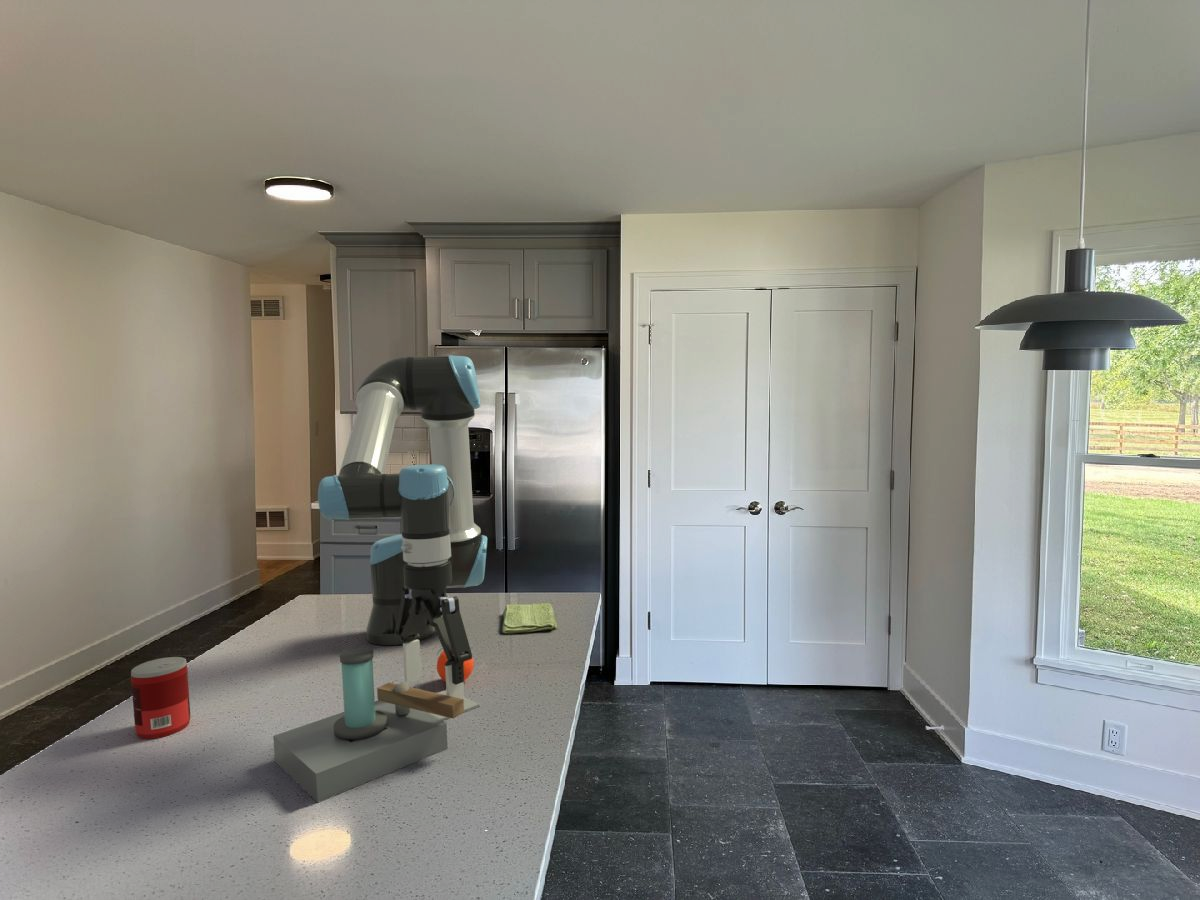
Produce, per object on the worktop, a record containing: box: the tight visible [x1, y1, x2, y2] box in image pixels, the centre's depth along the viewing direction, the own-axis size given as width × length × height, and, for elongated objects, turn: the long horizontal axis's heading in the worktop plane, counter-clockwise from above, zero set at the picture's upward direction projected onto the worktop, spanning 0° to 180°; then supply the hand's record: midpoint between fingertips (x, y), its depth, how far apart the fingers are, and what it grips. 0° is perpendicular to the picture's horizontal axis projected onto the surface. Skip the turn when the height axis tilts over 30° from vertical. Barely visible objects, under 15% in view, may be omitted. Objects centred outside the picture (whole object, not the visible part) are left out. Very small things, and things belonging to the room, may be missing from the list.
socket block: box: [272, 700, 448, 803], centre depth 105 cm, size 16×20×4 cm
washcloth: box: [502, 602, 558, 635], centre depth 169 cm, size 13×18×3 cm
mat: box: [430, 689, 480, 721], centre depth 122 cm, size 10×10×1 cm
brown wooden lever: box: [376, 682, 465, 719], centre depth 108 cm, size 2×16×4 cm, turn 61°
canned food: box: [130, 656, 192, 740], centre depth 116 cm, size 8×8×11 cm
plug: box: [334, 647, 387, 742], centre depth 105 cm, size 8×8×16 cm
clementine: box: [436, 647, 474, 683], centre depth 133 cm, size 8×7×7 cm
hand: (433, 690), depth 113 cm, fingers open, 13 cm apart
